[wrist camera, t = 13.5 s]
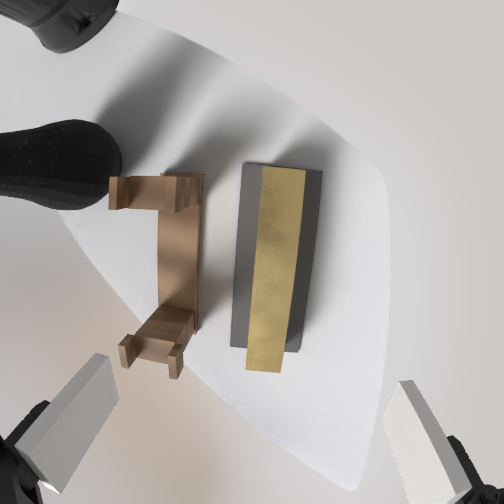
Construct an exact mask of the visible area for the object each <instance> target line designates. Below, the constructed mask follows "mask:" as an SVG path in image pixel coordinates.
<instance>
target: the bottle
mask: <svg viewBox="0 0 504 504" xmlns="http://www.w3.org/2000/svg"><path fill="white" fill-rule="evenodd" d="M121 169H122V158H121V153H120V151H119V148H118V146H117V144H116V142H115V140H114V138H113V137H112V136H111V135H110V134H109V133H108V132H107V131H106V130H104V129H103V128H102V127H101V126H99V125H98V124H96V123H92V122H88V121H84V120H77V119H72V120H64V121H60V122H55V123H51V124H47V125H44V126H41V127H38V128H34V129H28V130H21V131H15V132H7V133H0V196H1V195H2V196H8V197H14V198H21V199H25V200H29V201H32V202H35V203H37V204H39V205H42V206H45V207H48V208H51V209H57V210H79V209H83V208H86V207H88V206H91V205H93V204H95V203H97V202H98V201H99V200H101V199H102V198H103V197H104V196H105V195H106V194H108V193H109V181H110V177H119V176H120V173H121Z"/></svg>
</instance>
